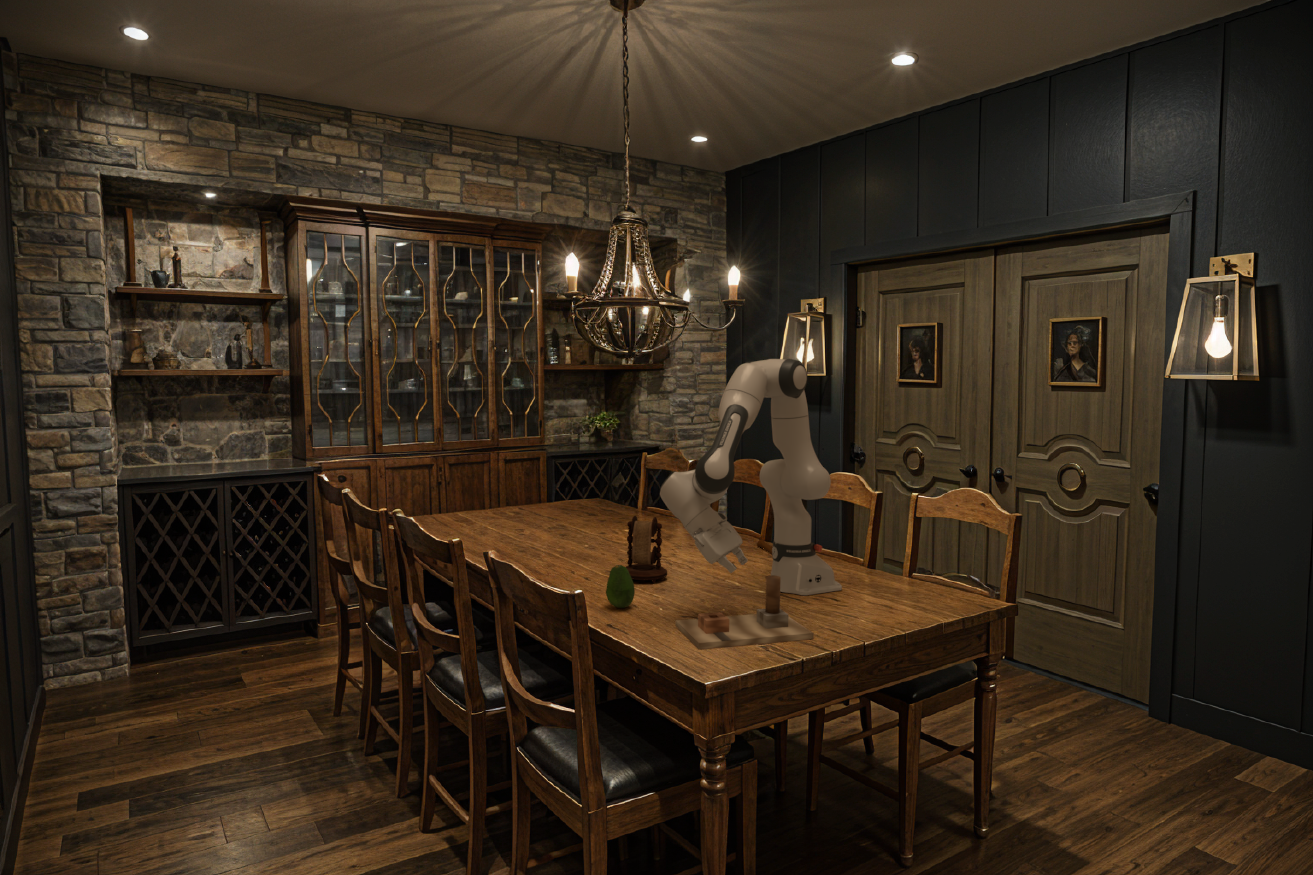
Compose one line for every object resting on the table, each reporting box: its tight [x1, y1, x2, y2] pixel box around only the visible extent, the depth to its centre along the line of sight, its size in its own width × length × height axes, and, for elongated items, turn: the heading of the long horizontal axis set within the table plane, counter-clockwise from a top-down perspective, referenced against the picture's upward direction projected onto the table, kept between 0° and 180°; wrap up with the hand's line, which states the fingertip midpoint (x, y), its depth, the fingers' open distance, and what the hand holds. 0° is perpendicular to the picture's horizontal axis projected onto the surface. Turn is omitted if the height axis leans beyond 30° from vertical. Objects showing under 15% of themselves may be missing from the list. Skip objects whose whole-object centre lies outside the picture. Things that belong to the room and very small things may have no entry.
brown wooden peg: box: [764, 574, 781, 614], centre depth 203 cm, size 4×4×12 cm
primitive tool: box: [756, 539, 773, 555], centre depth 292 cm, size 19×6×4 cm, turn 24°
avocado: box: [605, 564, 636, 609], centre depth 220 cm, size 8×8×12 cm
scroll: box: [625, 515, 668, 585], centre depth 252 cm, size 15×15×20 cm
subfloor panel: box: [675, 608, 815, 650], centre depth 201 cm, size 30×18×5 cm, turn 107°
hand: (739, 566), depth 206 cm, fingers open, 8 cm apart
